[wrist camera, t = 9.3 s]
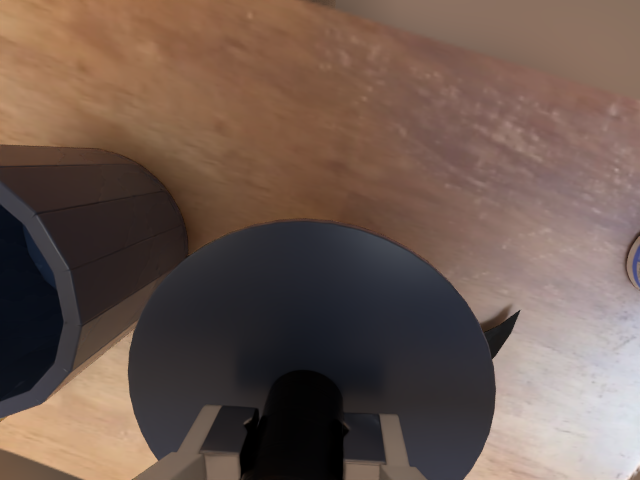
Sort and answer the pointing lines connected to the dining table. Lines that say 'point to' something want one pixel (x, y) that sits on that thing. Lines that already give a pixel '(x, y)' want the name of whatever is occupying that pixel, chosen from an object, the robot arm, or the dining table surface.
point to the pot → (75, 261)
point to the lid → (313, 349)
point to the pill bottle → (634, 264)
